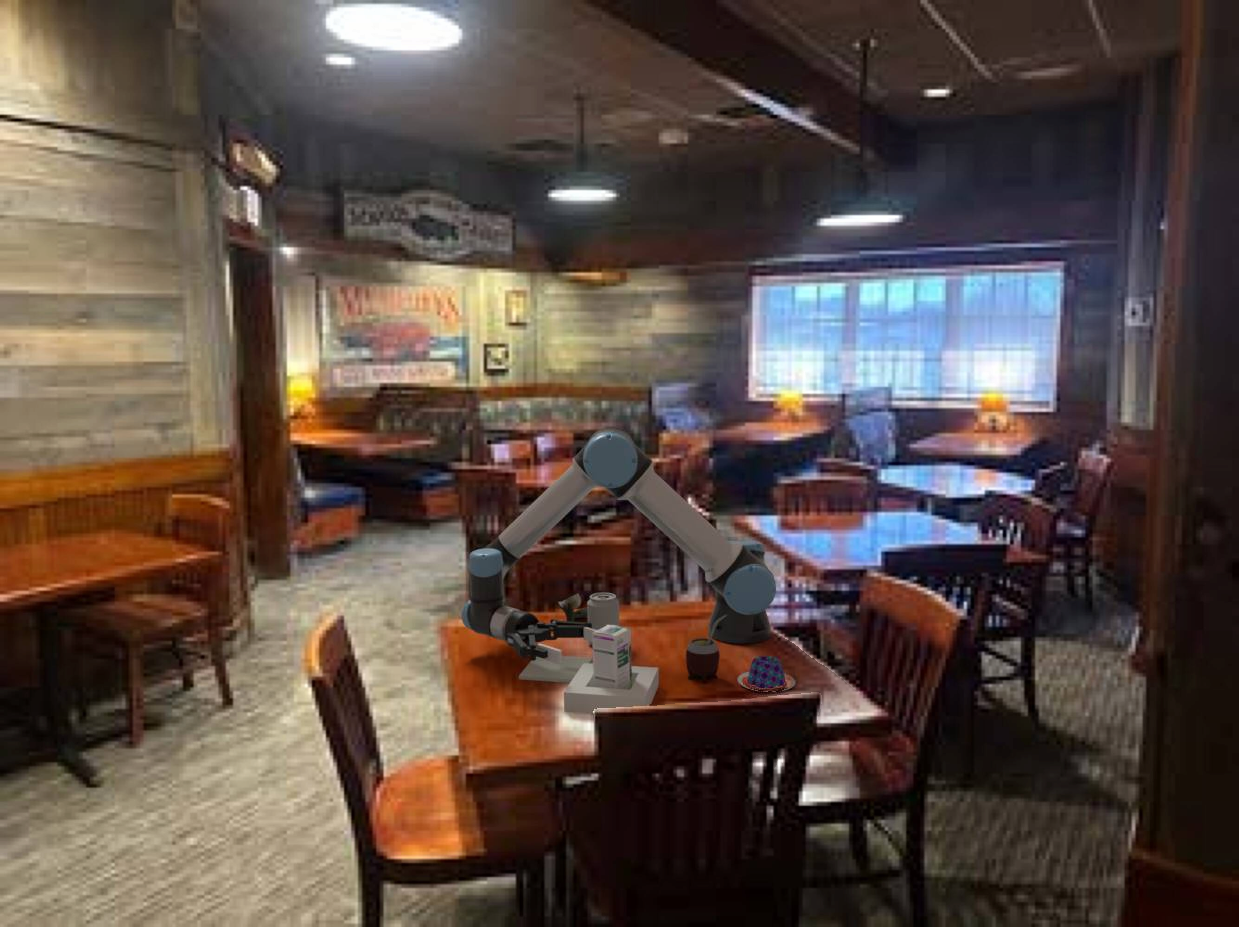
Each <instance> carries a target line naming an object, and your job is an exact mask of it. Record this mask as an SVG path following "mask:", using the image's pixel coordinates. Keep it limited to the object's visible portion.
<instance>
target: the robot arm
mask: <svg viewBox="0 0 1239 927" xmlns="http://www.w3.org/2000/svg"><path fill="white" fill-rule="evenodd" d="M595 488H604V489H605V490H607V491H608V492H609V493H610V494H611V495H612V496H613V497H614V498H615V499H616V500H619V501H623V500H625V501H626V500H627V501H629V503H631V504H632V505H633V506H634V507H635V508H636V509H637V510H638V511H640V512H641V513H642V514H643V515H644V516H645V517H646V518H647V519H649V521H650V522H652V523H653V524H654V525H655V526H656V527H657V528H658V529H659V530H660V531H661V532H663V533H664V535H665V536H666V537H668V538H669V539H670V540H671V541H672V542H673V543H674V544H676V546H678V547H679V548H680V549H681V550H682V551H683V552H684V553H685V555H687V556H688V557H689V558H691V559H692V560H693V561H694V562H695V563H696V564H697V565H698V566H699V567H701V569H703V570H704V573H705V574H704V575H705V578H704V579H705V581H706V582H707V583H708V584H709V585H710V586H711V587H712V588H713V589H714V590H715V601H714V602H715V603H714V605H713V609H712V612H711V615H710V618H709V621H708V627H707V631H708V635H709V636H710V633H711V631H712V628H713V627H712V626H713V624H714V622H716V621H717V620H718V619H719V618H721V617H723V616H725V615H727V616H726V617H725V618H723V619H722V620H721V621H719V622H718V623H717V626H716V628H715V630H714V633H713V635H712V638H711V639H714V640H716V641H719V642H723V643H729V644H737V645H738V644H739V645H740V644H741V645H743V644H745V645H746V644H757V643H761V642H763V641H766V640H768V639H770V637H771V636H772V635H771V634H772V633H771V632H772V631H771V622H770V619H769V616H768V613H767V610H766V609H768V608H769V607H770V605H771V604H772V603H773V601H774V600H775V597H776V593H777V584H776V579H775V575H774V573H773V572H772V571H771V570H770V569H769V567H768V566H767V564H766V562H765V555H766V551H765V546H764V544H763V542H760V541H756V540H755V541H754V540H728V539H727V538H726V537H725V536H724V535H723V534H722V533H721V532H720V531H719V530H718V529H716V527H714V526H713V525H712V524H711V523H710V522H709V521H708V520H707V519H705V517H703V515H702V514H700V513H699V512H698V511H697V510H696V509H695V508H694V507H693V506H692V505H691V504H690V503H688V502H687V501H686V500H685V498H683V497H682V496H681V495H680V494H679V493H677V491H675V489H673V487H671V486H670V485H669V484H668V483H667V482H666V481H665V480H663V478H661V477H660V476H659V475H658V474H657V473H656V472H655V470H654V461H653V460H652V459H651V458H650V457H649V456H648V455H647V454H645V453H644V451H642V449H640V448H639V447H638V446H637V445H636V444H635V442H634V439H633V438H632V437H631V436H630V435H629V433H628V432H626V431H625V430H624V429H621V428H619V427H616V426H615V427H612V426H609V427H607V426H606V427H604V428H601V429H599V430H597V431H595V433H593V434H592V435H591V437H589V439H588V441H587V442H586V444H584V446H583V447H582V448H581V450H580V451H579V452H578V453H577V454H576V455H575V456H574V457H572V465H571V466H569V468H568V469H566V470H565V472H563V473H562V474H561V475H560V476H559V477H558V478H557V479H556V480H555V481H554V482H553V483H552V484H551V485H550V486H548V488H547V489H545V491H544V492H543V493H542V494H541V495H539V496H538V498H536V499H535V500H534V501H533V502H532V503H531V504H530V505H529V506H528V507H527V508H526V509H525V510H524V511H523V512H522V513H521V514H520V515H519V516H517V518H516V519H514V521H513V522H512V523H510V525H509V526H507V527H506V528H505V529H504V530H503V531H502V533H500V534H499V535H498V536H497V538H495V539H494V540H492V542H491V543H489V544H487V545H486V546H485V547H484V548H479V549H475V550H473V551H472V552H470V554H469V559H468V560H469V563H468V571H469V587H470V588H469V589H470V599H468V601H467V602H466V603H465V604H464V605H463V609H462V611H461V614H460V615H461V621H462V623H463V625H464V627H466V628H467V629H468V630H470V631H473V632H474V633H477V634H479V635H483V636H487V637H491V638H494V639H496V640H500V641H503V642H505V643H506V644H507V645H508V646H509V647H511V648H513V649H514V651H515V652H516V653H517V654H518V655H519V657H520V658H521V659H523V660H525V659H526V660H527V659H528V657H529V659H530V660H529V661H530V662H531V661H535V660H536V656H537V657H539V658H542V659H545V660H548V661H551V662H554V663H557V664H562V656H563V650H562V649H559V648H555V647H552V646H549V645H547V644H544V643H542V642H545V641H556V640H557V639H559V638H560V639H583V640H584V641H587V642H588V641H589V642H593V641H592V633H593V632H595V631H597V630H595V629H592V623H588V621H587V622H586V621H585V622H583V621H574V622H572V621H567V620H559V619H555V618H552V619H550V620H549V621H550V622H547V623H546V622H544V621H543V622H542V621H540V620H538V617H537V616H536V615H534V613H531V612H528V611H525V610H524V611H523V610H520V609H518V608H514V607H510V606H507V605H505V604H504V578H505V576H506V575H507V573H508V571H509V570H510V569H511V568H512V567H513V566H514V565H515V564H516V563H517V562H518V561H519V560H520V559H521V558H522V557H523V556H524V555H525V554H527V552H528V551H530V550H531V549H532V547H534V546H535V545H536V544H537V543H538V542H539V541H540V540H541V539H542V538H543V537H544V536H545V535H546V534H547V533H549V532H550V531H551V529H553V528H554V527H555V526H556V525H557V524H558V523H559V522H560V521H561V520H562V519H563V518H565V516H566V515H568V514H569V512H570V511H572V510H573V509H574V508H575V507H576V506H577V505H578V504H579V503H580V502H581V501H582V500H583V499H584V498H585V497H587V496H588V495H589V494H590V492H592V491H593V490H594V489H595ZM552 633H553V635H552ZM589 642H588V643H589ZM536 643H537V644H536Z"/></svg>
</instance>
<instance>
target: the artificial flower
mask: <svg viewBox="0 0 1239 927" xmlns="http://www.w3.org/2000/svg"><path fill="white" fill-rule="evenodd" d="M581 603H582V598H581V596H580V595H579V593H576V594H574V595H572V596H569V597H568V598H566V599H564V600H562V601H558V604H559V607H560V609H561V610H562V611H563V612H564V614H565V618H566V620H565V621H572V622H576V620H575V619H579V618H580V619H581V618H584V619H585V618H586V619H588V609H587V607H584V608H583V607H582V608H580V609H578V608H579V607H580V606H581ZM576 609H578V610H576ZM575 610H576V611H575Z"/></svg>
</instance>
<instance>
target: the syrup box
mask: <svg viewBox="0 0 1239 927" xmlns="http://www.w3.org/2000/svg"><path fill="white" fill-rule="evenodd" d="M631 632H632V631H631V628H629V627H626V626H622V625H619V626H617V625H606V626H605V627H603V628H601V629H599V630H597V631H595V632H593V633H592V641H593V646H592V663H593V672H594V687H598V688H612V689H626V690H630V689H631V687H632V666H633V665H632V664H633V663H632V640H631V639H632V637H631V634H632V633H631Z"/></svg>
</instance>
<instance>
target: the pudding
mask: <svg viewBox="0 0 1239 927" xmlns="http://www.w3.org/2000/svg"><path fill="white" fill-rule="evenodd" d="M747 676H748V679H747V680H748V682H747V684H750V685H755V686H756V687H758V688H765V687H766V688H774V687H776V686H779V687H780V686H783V685H784V683H785V682H786V681H785V676H786V677H790V679H791V681H792V682H791V685H790V686H789V688H787V689H784V690H782V691H781V692H783V691H788V690H790V689H791V688H793V687H794V686H795V684H796V680H795V679H794V678H793V676H791V675H789V674H787V673H784V669H783V664H782V662H781V660H780V659H778V658H777V657H775V656H768V655H764V656H757V657H755V658H754V659H752V661H751V665H750V668H749V671H746V672H743V673H741V674H740V675H738V677H737V682H738V684H739V685H741V686H742V687H744V688H746V689H750V688H748V687H746V686H745V685H743V682H742V679H743V677H747ZM784 686H785V685H784ZM750 690H752V691H757V692H759V691H758V690H754V689H750ZM768 691H769V690H767V691H763V692H766V693H769V692H768ZM763 692H762V693H763ZM771 693H777V692H776V691H772V692H771Z"/></svg>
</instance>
